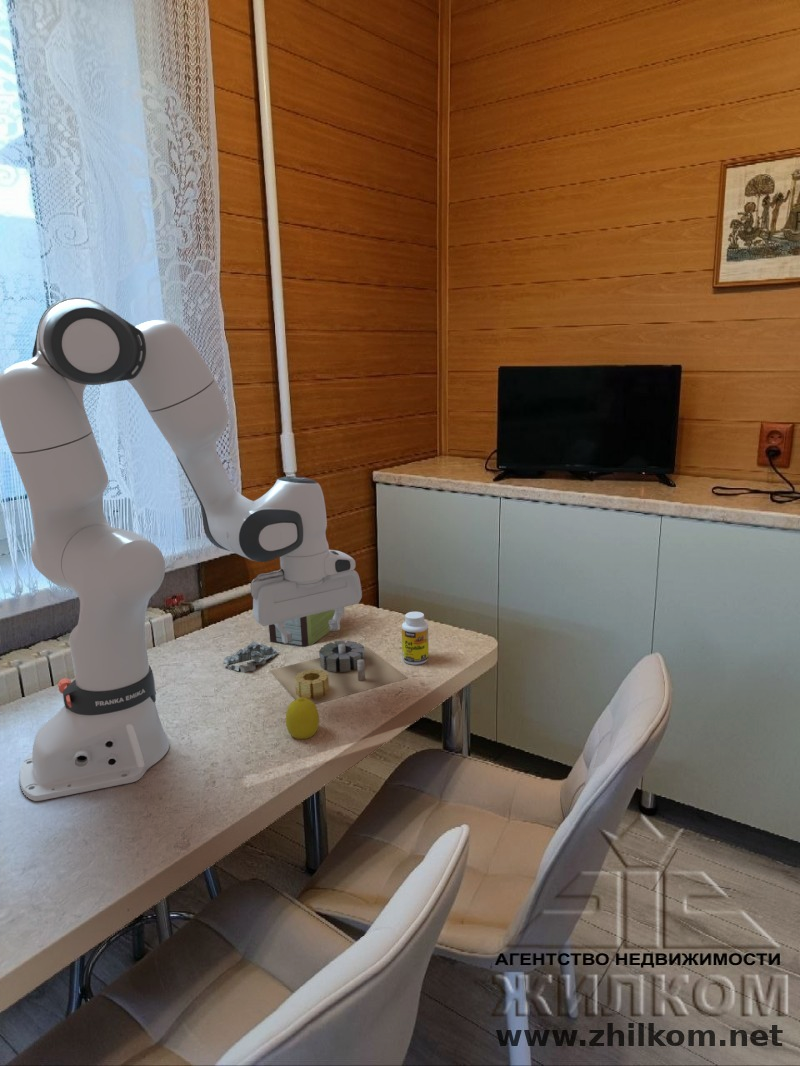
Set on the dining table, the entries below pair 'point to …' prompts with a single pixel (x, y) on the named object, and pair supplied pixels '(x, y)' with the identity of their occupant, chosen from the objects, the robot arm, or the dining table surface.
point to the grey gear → (341, 656)
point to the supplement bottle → (415, 639)
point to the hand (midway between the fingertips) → (311, 635)
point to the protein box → (304, 629)
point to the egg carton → (253, 652)
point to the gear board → (343, 676)
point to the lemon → (302, 718)
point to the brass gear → (311, 684)
